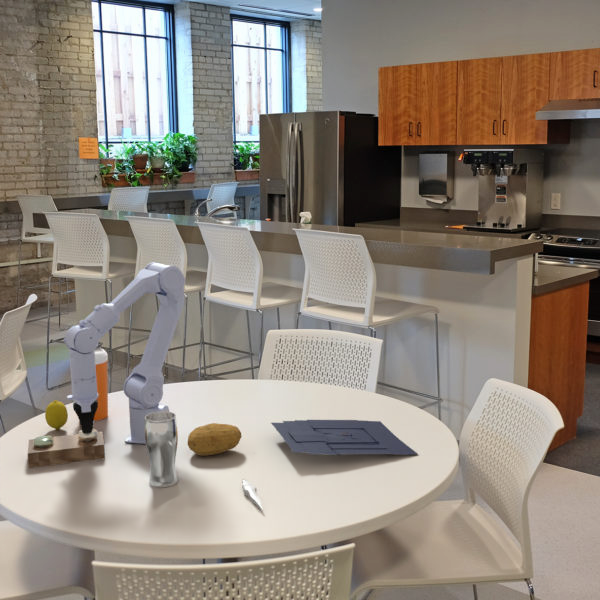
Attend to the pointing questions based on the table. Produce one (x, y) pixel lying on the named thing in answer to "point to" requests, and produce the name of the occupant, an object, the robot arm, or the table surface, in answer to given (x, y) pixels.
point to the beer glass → (161, 447)
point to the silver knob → (87, 435)
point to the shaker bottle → (101, 382)
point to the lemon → (56, 415)
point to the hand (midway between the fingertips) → (87, 432)
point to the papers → (341, 437)
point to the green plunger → (43, 441)
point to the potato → (213, 438)
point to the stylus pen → (251, 493)
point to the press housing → (66, 451)
